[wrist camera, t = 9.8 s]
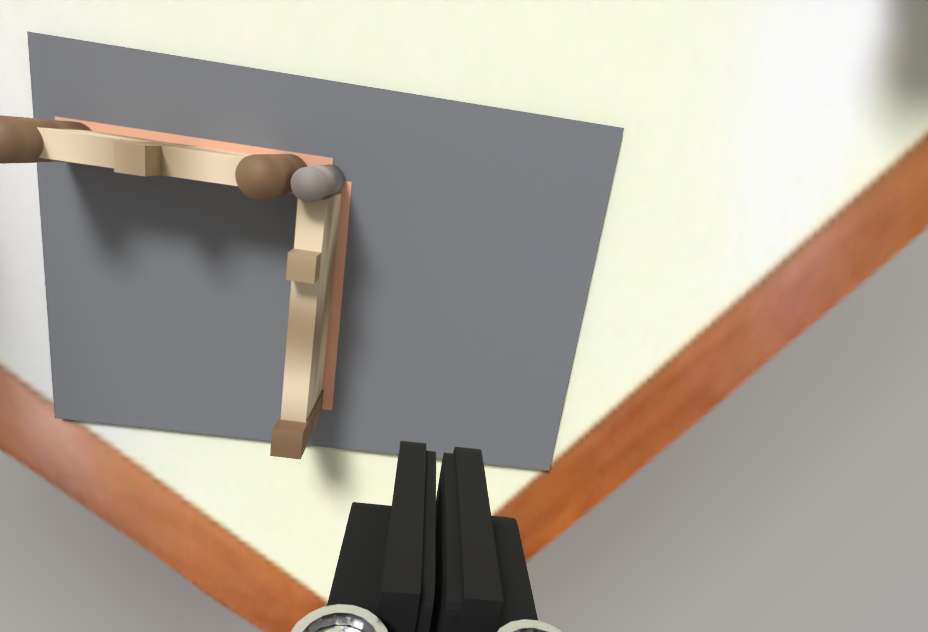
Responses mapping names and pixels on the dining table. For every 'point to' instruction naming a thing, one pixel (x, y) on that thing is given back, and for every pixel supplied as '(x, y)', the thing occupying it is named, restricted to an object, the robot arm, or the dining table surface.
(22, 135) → the fixed fence
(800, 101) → the dining table surface
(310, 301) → the panel
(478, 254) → the mat
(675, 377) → the dining table surface
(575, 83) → the dining table surface
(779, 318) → the dining table surface
